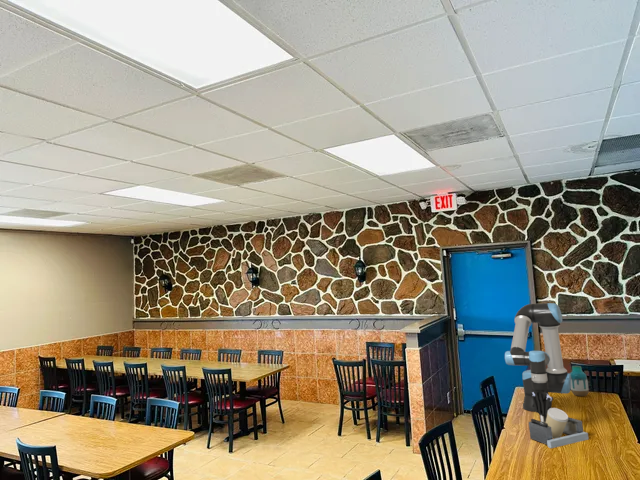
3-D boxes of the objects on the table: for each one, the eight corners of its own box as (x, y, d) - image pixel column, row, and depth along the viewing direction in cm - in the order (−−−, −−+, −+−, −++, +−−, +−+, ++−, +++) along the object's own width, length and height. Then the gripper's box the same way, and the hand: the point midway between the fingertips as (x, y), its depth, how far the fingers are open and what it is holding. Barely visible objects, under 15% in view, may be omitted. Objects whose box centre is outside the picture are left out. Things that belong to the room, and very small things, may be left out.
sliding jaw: (530, 438, 218) (528, 418, 219) (536, 437, 219) (533, 417, 220) (548, 445, 208) (545, 424, 209) (554, 443, 209) (551, 423, 210)
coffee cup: (560, 429, 223) (566, 410, 219) (564, 442, 214) (570, 422, 211) (540, 424, 225) (546, 405, 222) (544, 437, 217) (549, 417, 213)
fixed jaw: (559, 432, 224) (557, 416, 225) (565, 431, 225) (563, 415, 226) (578, 439, 214) (576, 422, 215) (584, 437, 215) (581, 421, 216)
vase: (575, 398, 285) (571, 368, 287) (568, 394, 296) (565, 365, 298) (592, 397, 283) (588, 367, 286) (585, 393, 294) (581, 364, 296)
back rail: (547, 447, 207) (546, 440, 207) (585, 438, 215) (584, 431, 215) (551, 448, 205) (550, 441, 205) (588, 439, 213) (587, 432, 213)
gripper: (524, 380, 231) (529, 426, 229) (544, 384, 219) (549, 433, 216) (535, 378, 234) (540, 423, 231) (555, 382, 222) (561, 430, 219)
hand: (544, 428), depth 224 cm, fingers closed
